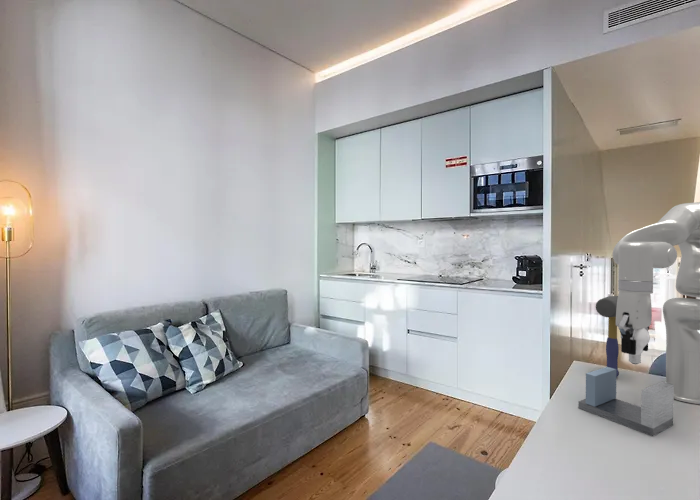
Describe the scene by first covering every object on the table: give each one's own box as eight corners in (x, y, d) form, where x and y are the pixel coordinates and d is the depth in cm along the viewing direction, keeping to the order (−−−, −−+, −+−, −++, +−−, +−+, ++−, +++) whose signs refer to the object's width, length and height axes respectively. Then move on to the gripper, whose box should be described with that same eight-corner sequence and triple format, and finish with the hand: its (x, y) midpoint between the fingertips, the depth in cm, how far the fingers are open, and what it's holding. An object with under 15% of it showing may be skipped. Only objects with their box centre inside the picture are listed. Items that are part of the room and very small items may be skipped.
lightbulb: (642, 369, 94) (642, 328, 94) (615, 362, 100) (615, 323, 100) (654, 365, 97) (654, 325, 97) (627, 359, 103) (627, 321, 103)
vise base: (599, 399, 111) (600, 364, 111) (673, 425, 96) (673, 384, 96) (578, 408, 106) (578, 371, 106) (652, 436, 90) (653, 393, 90)
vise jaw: (606, 395, 110) (607, 366, 110) (616, 398, 108) (616, 369, 107) (585, 403, 104) (585, 373, 104) (594, 406, 102) (595, 376, 102)
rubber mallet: (617, 384, 124) (618, 298, 124) (593, 377, 130) (593, 296, 130) (630, 377, 131) (631, 296, 131) (607, 371, 137) (607, 293, 137)
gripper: (634, 284, 106) (633, 344, 106) (603, 287, 97) (603, 352, 97) (666, 286, 99) (665, 350, 99) (636, 290, 91) (635, 360, 91)
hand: (634, 351), depth 98 cm, fingers closed on lightbulb, 6 cm apart
